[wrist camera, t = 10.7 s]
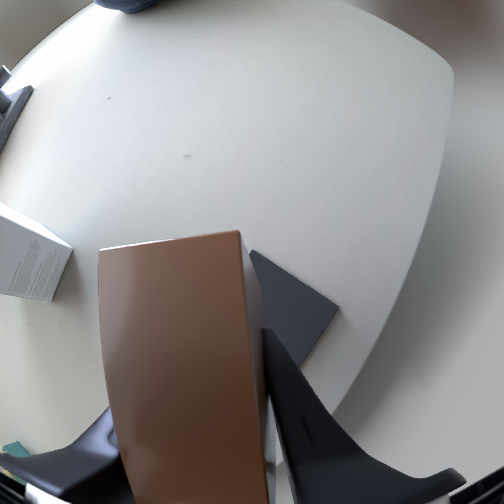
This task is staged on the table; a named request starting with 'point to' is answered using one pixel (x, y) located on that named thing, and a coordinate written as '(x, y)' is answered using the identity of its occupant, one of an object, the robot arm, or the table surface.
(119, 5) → the bowl
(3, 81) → the faucet
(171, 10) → the table surface
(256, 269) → the mat
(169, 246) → the block
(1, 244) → the cosmetic box
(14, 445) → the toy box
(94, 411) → the table surface
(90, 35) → the table surface
